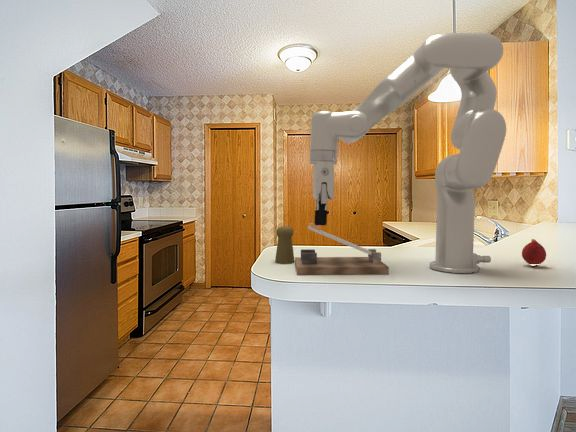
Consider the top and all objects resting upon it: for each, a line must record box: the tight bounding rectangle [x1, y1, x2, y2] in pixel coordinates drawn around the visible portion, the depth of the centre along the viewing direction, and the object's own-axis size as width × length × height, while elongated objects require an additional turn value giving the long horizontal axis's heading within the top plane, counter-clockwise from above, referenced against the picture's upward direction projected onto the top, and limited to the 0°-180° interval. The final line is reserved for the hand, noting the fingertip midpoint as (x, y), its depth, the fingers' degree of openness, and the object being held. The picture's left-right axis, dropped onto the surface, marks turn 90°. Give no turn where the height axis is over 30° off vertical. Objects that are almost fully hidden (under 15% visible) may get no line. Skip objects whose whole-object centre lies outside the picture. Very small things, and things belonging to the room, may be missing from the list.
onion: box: [521, 238, 547, 265], centre depth 105 cm, size 6×6×8 cm
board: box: [294, 248, 390, 276], centre depth 103 cm, size 24×14×5 cm, turn 91°
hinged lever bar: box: [307, 222, 373, 256], centre depth 102 cm, size 20×4×2 cm, turn 92°
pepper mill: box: [274, 225, 295, 265], centre depth 112 cm, size 6×6×11 cm
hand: (320, 224), depth 102 cm, fingers closed
